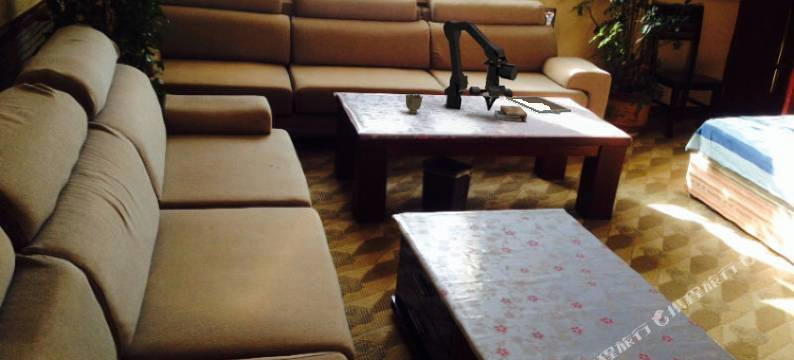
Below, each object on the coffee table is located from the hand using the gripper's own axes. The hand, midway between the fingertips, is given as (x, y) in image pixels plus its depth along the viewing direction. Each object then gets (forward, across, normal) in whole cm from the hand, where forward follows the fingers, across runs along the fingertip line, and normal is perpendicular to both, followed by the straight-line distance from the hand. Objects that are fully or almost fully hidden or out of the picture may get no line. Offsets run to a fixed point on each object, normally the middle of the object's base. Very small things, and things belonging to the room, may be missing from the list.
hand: (488, 110), depth 289 cm
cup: (+3, -34, -1) cm, 34 cm away
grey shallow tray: (+3, +9, 0) cm, 9 cm away
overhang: (+3, +11, 0) cm, 12 cm away
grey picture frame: (+3, +31, +25) cm, 40 cm away
